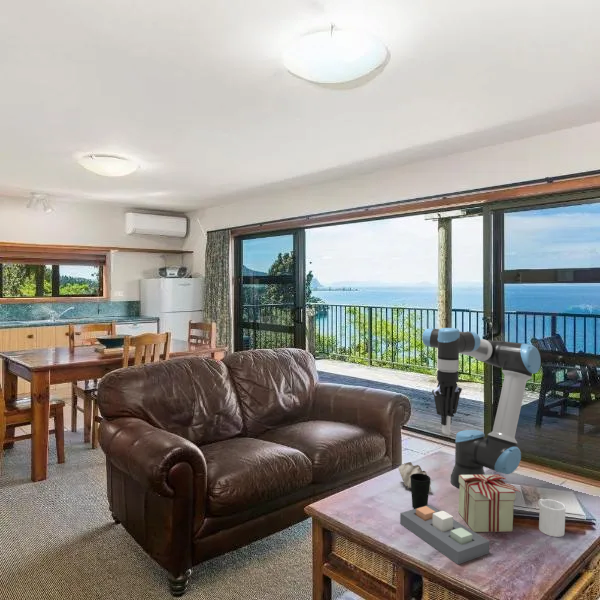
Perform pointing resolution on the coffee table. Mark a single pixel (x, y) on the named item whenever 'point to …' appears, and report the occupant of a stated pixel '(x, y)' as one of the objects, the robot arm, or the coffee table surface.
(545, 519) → the mug
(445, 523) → the ivory key
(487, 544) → the key panel
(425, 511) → the peach cube
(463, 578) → the coffee table surface
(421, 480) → the cup
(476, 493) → the gift box
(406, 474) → the seashell
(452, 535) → the sage key
